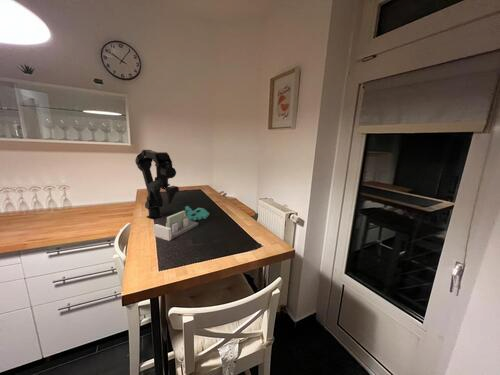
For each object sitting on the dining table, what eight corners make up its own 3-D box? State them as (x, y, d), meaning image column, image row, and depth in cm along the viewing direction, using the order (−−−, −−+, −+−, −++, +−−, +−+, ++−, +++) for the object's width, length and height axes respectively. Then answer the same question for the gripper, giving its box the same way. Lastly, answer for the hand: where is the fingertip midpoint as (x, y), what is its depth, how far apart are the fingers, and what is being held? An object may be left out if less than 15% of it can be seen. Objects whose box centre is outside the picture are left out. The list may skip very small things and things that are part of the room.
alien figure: (170, 219, 129) (200, 223, 125) (170, 216, 129) (200, 220, 125) (186, 209, 148) (213, 212, 144) (186, 206, 148) (213, 209, 144)
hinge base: (154, 236, 106) (153, 225, 105) (184, 221, 126) (184, 212, 124) (169, 240, 102) (168, 229, 101) (198, 225, 122) (198, 215, 120)
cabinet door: (167, 231, 108) (166, 217, 106) (183, 223, 119) (183, 210, 117) (171, 232, 107) (170, 218, 105) (187, 224, 118) (186, 211, 116)
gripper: (137, 175, 112) (139, 202, 116) (162, 179, 104) (164, 209, 108) (154, 172, 122) (156, 198, 125) (179, 176, 114) (180, 203, 118)
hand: (163, 202), depth 119 cm, fingers open, 9 cm apart
